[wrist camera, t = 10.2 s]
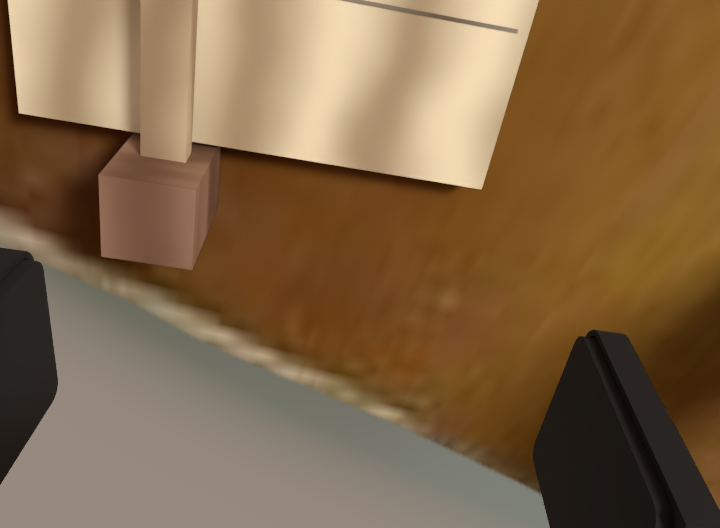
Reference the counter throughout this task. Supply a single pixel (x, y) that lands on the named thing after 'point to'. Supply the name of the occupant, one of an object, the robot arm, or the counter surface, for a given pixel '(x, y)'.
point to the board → (296, 76)
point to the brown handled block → (161, 153)
